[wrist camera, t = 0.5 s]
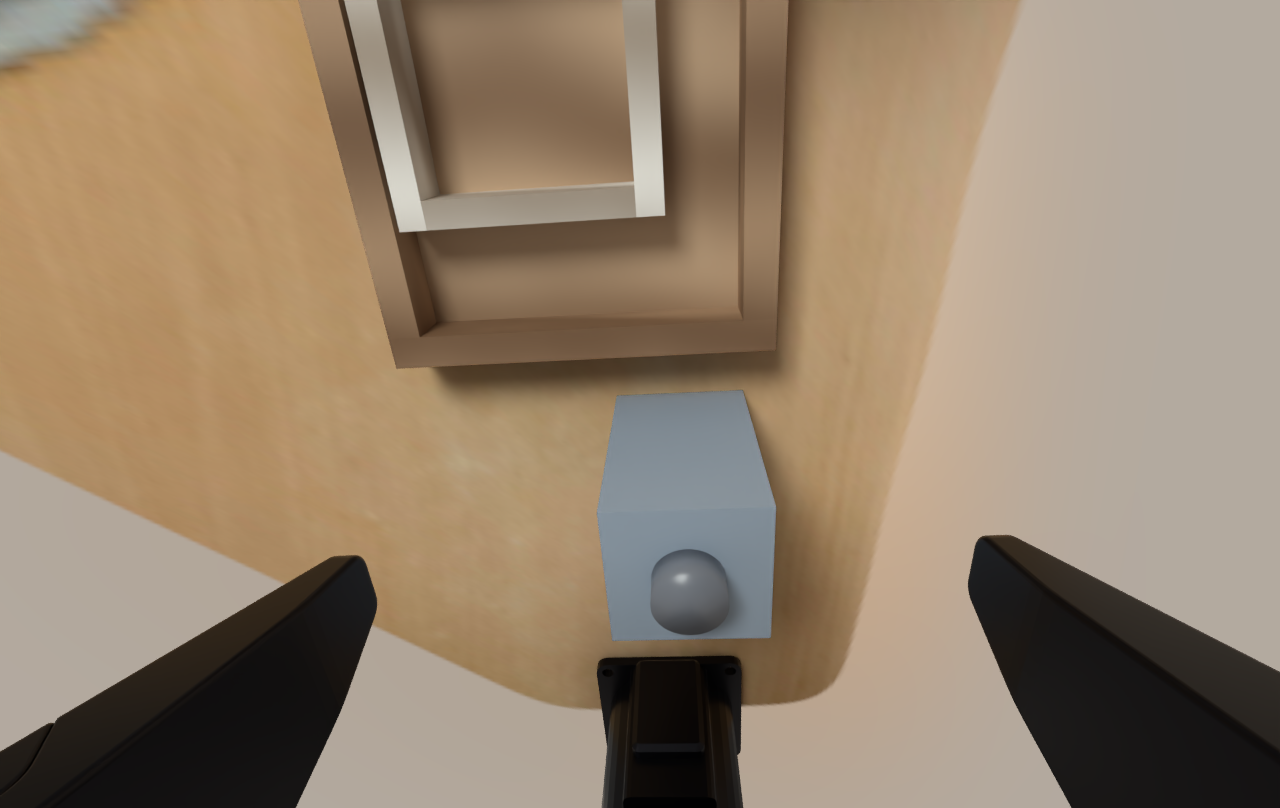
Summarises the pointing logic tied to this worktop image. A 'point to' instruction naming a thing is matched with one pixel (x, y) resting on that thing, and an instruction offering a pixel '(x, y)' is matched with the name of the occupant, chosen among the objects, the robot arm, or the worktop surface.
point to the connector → (686, 519)
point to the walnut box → (561, 172)
